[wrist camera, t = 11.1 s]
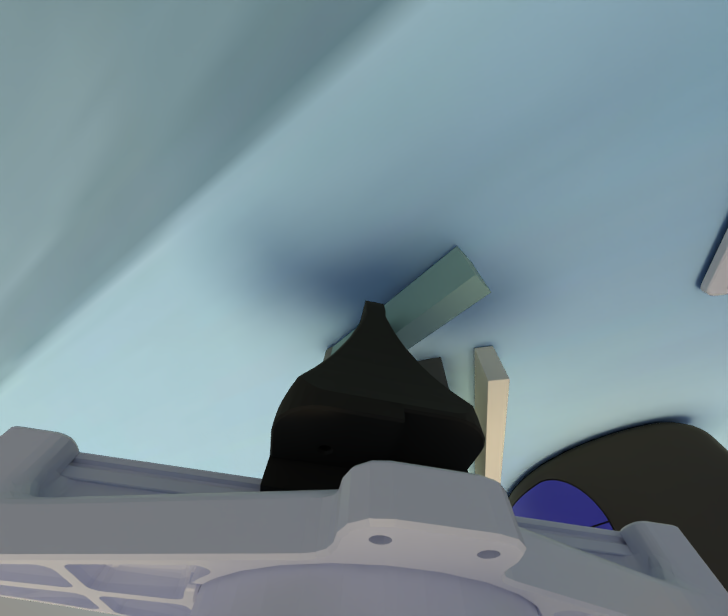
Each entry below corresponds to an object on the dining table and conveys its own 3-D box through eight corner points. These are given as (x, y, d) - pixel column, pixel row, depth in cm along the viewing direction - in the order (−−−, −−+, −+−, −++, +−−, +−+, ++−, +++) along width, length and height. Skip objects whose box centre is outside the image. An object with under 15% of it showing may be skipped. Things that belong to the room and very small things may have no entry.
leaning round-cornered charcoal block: (650, 394, 17) (884, 621, 9) (697, 419, 18) (946, 646, 10) (474, 496, 25) (516, 666, 17) (513, 511, 26) (570, 677, 18)
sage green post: (455, 244, 12) (473, 272, 10) (471, 262, 13) (492, 293, 10) (321, 354, 16) (310, 394, 14) (336, 365, 17) (327, 405, 14)
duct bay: (492, 345, 16) (509, 379, 14) (487, 481, 23) (497, 516, 21) (340, 363, 17) (334, 395, 15) (382, 485, 25) (381, 518, 23)
